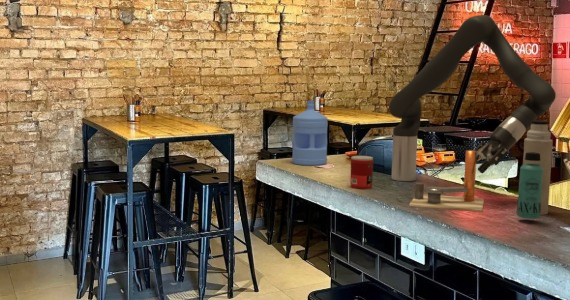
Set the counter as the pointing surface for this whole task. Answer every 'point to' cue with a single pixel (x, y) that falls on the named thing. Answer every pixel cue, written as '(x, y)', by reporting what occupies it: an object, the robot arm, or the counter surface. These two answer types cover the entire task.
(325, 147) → the water jug
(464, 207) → the hub board
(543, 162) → the thermos bottle
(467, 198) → the lever
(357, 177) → the canned food
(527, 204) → the beverage bottle
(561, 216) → the counter surface
